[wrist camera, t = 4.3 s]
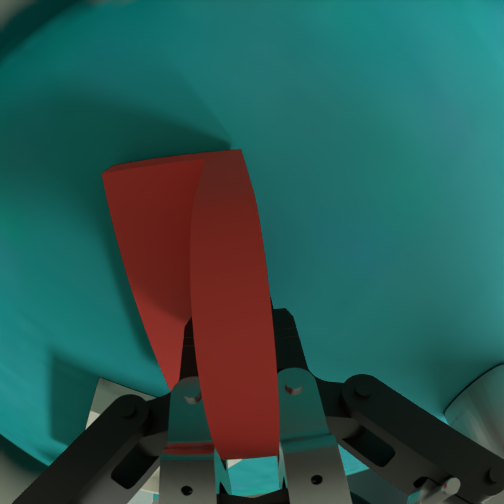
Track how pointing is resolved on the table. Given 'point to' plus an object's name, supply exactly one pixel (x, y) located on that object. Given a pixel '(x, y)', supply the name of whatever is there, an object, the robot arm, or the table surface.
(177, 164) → the bracket
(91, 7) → the table surface
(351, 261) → the table surface
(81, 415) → the table surface
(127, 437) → the robot arm
